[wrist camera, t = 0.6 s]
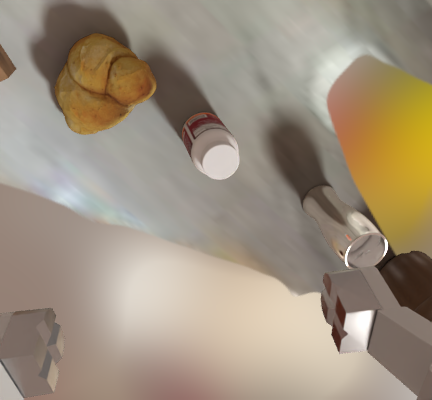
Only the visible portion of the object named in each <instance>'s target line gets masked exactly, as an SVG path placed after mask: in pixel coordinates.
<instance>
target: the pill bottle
mask: <svg viewBox="0 0 432 400" xmlns="http://www.w3.org/2000/svg"><path fill="white" fill-rule="evenodd" d="M182 139H183V142H184V145H185V147H186V149H187V151H188V153H189V155H190V157H191V159H192V161H193V163H194V165H195V167H196V168H197V169H198V170H199V171H201V172H202V173H204V174H206V175H208V176H209V177H211V178H213V179H225V178H228V177H229V176H231V175H232V174H233V173H234V172H235V171H236V170H237V168H238V165H239V155H238V144H237V142H236V140H235V138H234V137H233V135H232V134H231V133H230V132H229V131H228V129H227V128H226V127H225V125H224V124H223V123H222V122H221V120H220V119H219V118H218V117H216V116H215V115H213V114H211V113H206V112H202V113H197V114H195V115H193V116H191V117H190V118H189V119H188V120H187V121H186V123H185V124H184V126H183V129H182Z"/></svg>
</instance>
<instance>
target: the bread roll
mask: <svg viewBox="0 0 432 400" xmlns="http://www.w3.org/2000/svg"><path fill="white" fill-rule="evenodd" d="M156 87H157V86H156V80H155V77H154V75H153V73H152V71H151V69H150V67H149V65H148V64H147V63H146V62H145V61H143V60H139V59H138V58H137V56H136V55H135V54H134V53H133V52H132V51H131V50H130V49H128V48H127V47H125V46H123V45H122V44H120V43H119V42H118V41H116V40H115V39H114V38H112V37H109V36H106V35H104V34H98V33H94V34H91V35H89V36H86V37H84V38H82V39H80V40H79V41H77V42H76V43H75V44H74V45H73V47H72V48H71V49H70V51H69V55H68V60H67V62H66V63H65V65H64V67H63V69H62V71H61V72H60V74H59V76H58V79H57V82H56V86H55V87H54V88H55V95H56V98H57V100H58V104H59V105H60V107H61V109H62V110H63V114H64V116H65V120H66V123H67V125H68V126H69V128H70V129H71V130H72V131H74V132H76V133H79V134H84V135H86V134H94V133H97V132H98V131H102V130H105V129H109V128H111V127H113V126H115V125H116V124H118V123H119V122H121V121H123V120H124V119H125V118H126V117H127V116H128V114H129V113H130V112H131V111H132V110H133V108H134V107H135V105H137V104H138V103H142V102H144V101H145V100H147V99H149V98H150V97H151V96H152V95H153V93H154V92H155V90H156Z"/></svg>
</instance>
